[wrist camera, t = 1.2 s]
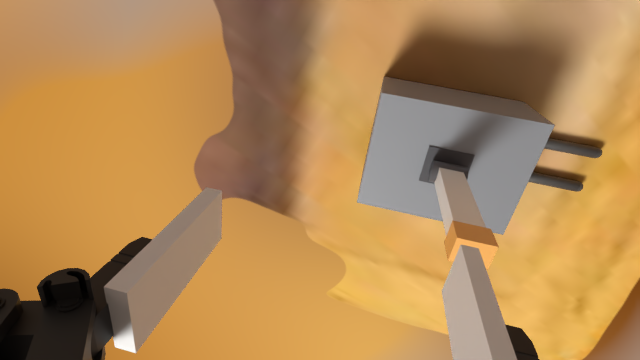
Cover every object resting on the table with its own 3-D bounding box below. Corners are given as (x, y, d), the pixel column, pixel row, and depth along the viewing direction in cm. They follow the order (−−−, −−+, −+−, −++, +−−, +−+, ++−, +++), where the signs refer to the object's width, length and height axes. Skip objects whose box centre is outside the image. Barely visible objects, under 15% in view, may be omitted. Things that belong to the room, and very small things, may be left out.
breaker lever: (427, 175, 41) (443, 260, 27) (433, 157, 40) (453, 235, 26) (459, 182, 41) (491, 271, 27) (466, 163, 39) (503, 246, 26)
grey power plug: (363, 170, 54) (356, 203, 45) (384, 76, 47) (381, 93, 38) (564, 212, 51) (601, 257, 42) (616, 118, 44) (672, 147, 35)
